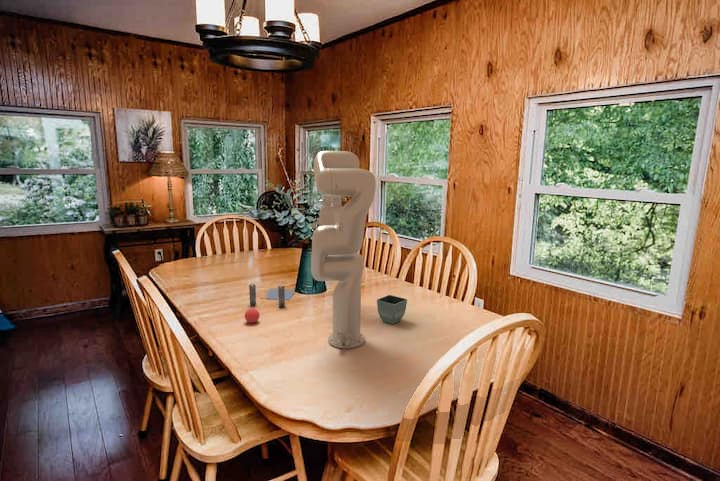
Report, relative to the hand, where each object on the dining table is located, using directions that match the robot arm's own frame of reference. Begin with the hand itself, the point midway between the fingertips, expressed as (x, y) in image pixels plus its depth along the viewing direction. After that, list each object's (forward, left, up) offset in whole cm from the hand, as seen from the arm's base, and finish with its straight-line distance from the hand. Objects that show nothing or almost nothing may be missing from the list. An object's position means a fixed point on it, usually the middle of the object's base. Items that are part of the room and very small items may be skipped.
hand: (332, 244), depth 171 cm
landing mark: (+13, +28, -27) cm, 41 cm away
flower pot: (-13, -25, -27) cm, 40 cm away
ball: (-21, +28, -24) cm, 42 cm away
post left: (-3, +34, -27) cm, 43 cm away
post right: (-3, +21, -27) cm, 35 cm away
